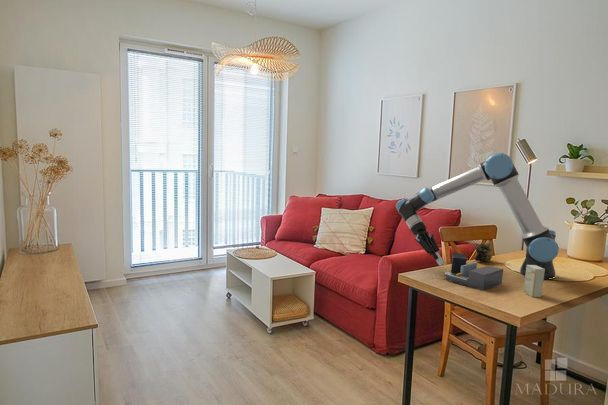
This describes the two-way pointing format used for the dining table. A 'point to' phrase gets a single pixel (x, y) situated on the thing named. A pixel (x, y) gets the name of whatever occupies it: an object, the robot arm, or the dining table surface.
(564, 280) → the dining table surface
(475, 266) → the blue-grey flat panel
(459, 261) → the small box
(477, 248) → the seashell
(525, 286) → the skincare box
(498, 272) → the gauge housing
